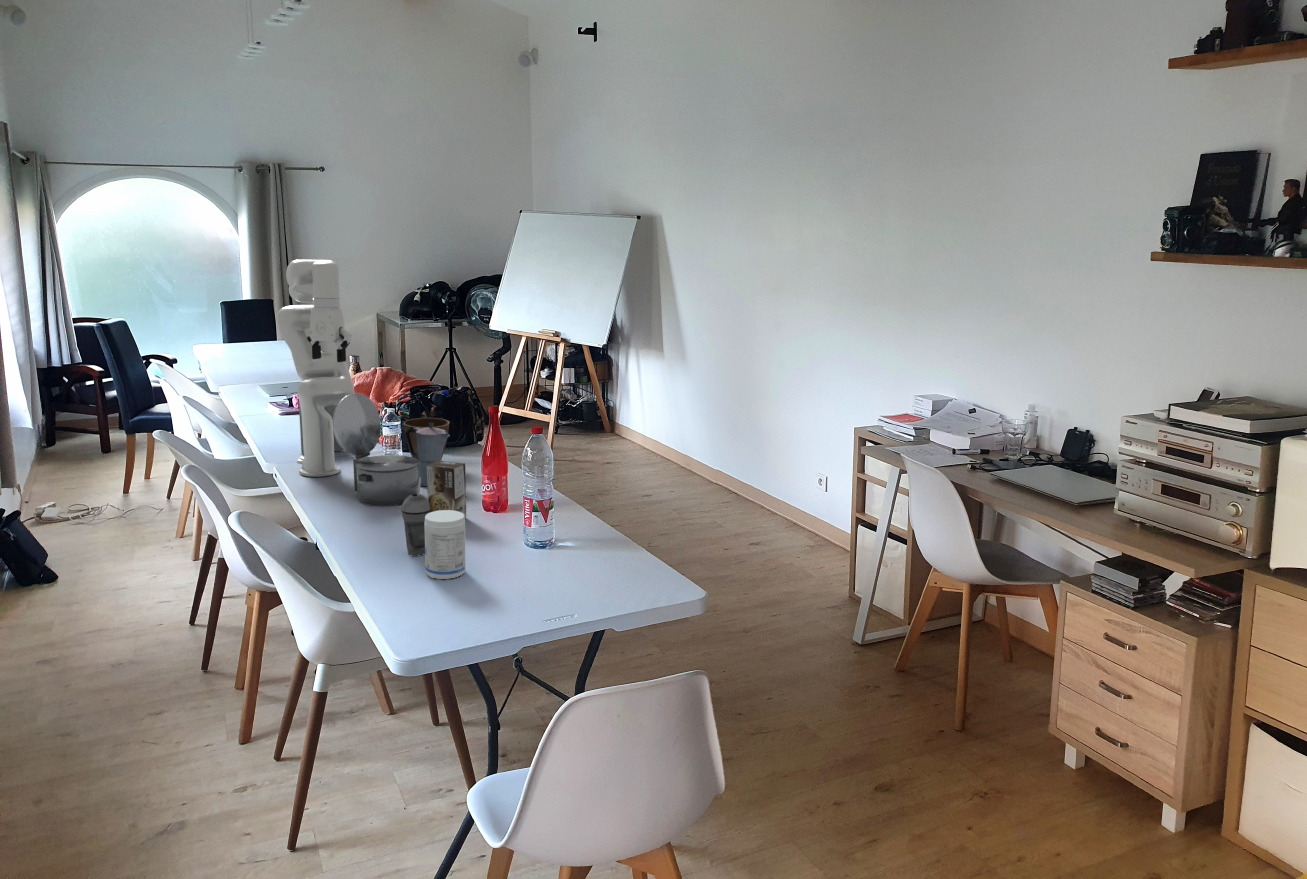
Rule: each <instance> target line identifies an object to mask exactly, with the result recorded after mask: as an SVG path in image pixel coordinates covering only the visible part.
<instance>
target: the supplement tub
mask: <svg viewBox="0 0 1307 879" xmlns="http://www.w3.org/2000/svg"><path fill="white" fill-rule="evenodd" d="M465 519H466V518H465V517H464V514H463V513H461V512H459V511H453V510H439V511H434V512H430V513H428V514H427V515H426V516H425V522H424V523H425V524H424V526H425V555H424V559H425V560H424V563H425V565H424V567H425V570H424V571H425V574H426V575H427V576H428V577H429V578H432V579H434V578H436V579H435V580H441V579H446V580H450V579H449V578H454V579H456V578H455V577H457V578H459V577H458V576H460V575H461V576H463V575H464V574H465V573H466V520H465ZM463 573H464V574H463ZM462 574H463V575H462ZM461 576H460V577H461Z"/></svg>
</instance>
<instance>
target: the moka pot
mask: <svg viewBox="0 0 1307 879" xmlns="http://www.w3.org/2000/svg"><path fill="white" fill-rule="evenodd" d="M433 424H434V423H429V428H422V429H420V428H415V427H412V426H410V428H409V429H408V430H407V431H406V433H405V438H406V441H408V442H407V445H408V444H409V446H408V449H409V448H410V450H409V452H411V453H410V455H411V454H412V455H415V456H417V455H418V454H419V464H418V476H419V477H421V485H420V487H421V486H422V487H428V485H427V465H430V464H432V463H434V462H436V461H442V460H441V459H443V457H442V453H443V447H444V444H445V442H446V443H447V441H446V440H448V438H449V437H450V434H449V432H448V433H447V432H446V431H445V430H443V429H439V428H433ZM410 432H413V433H415V434H416V439H417V449H418V453H416V452H414V450H413V448H412V443H411V438H410V435H409V433H410ZM443 454H444V453H443Z"/></svg>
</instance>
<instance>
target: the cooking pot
mask: <svg viewBox="0 0 1307 879" xmlns="http://www.w3.org/2000/svg"><path fill="white" fill-rule="evenodd" d="M352 460H353V483H354V492H357V494H356V495H357V501H358V503H361V504H362V505H367V506H373V507H391V506H392V507H393V506H394V507H395V506H402V505H403V502H404V500H405V499H406V498H407V497H408V496H410V495H412V494H417V493H418V484H419V476H418V464H419V461H418V460H417V459H416V458H413V457H412V456H408V455H401V454H400V455H398V454H387V455H385V454H383V455H373V456H366V457H363V458H359V459H356V458H353V459H352Z"/></svg>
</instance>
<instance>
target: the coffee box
mask: <svg viewBox="0 0 1307 879" xmlns="http://www.w3.org/2000/svg"><path fill="white" fill-rule="evenodd" d="M466 482H467V480H466V463H462V462H455V461H445V460H441V461H436V462H434V463H432V464H430V465H427V485H428V486H427V500H428V501H429V504H430V508H431V511H430V512H434V511H439V510H453V511H459V512H461V513H463V514H464V517H465V519H467V492H466V491H467V490H466V489H467V488H466V486H467V485H466Z"/></svg>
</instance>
